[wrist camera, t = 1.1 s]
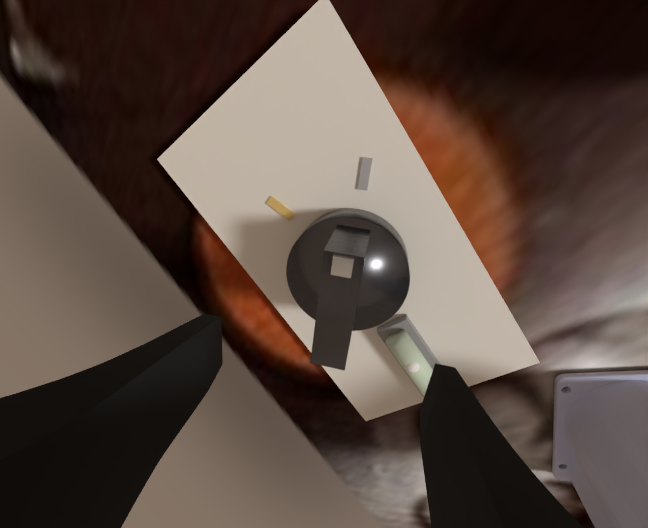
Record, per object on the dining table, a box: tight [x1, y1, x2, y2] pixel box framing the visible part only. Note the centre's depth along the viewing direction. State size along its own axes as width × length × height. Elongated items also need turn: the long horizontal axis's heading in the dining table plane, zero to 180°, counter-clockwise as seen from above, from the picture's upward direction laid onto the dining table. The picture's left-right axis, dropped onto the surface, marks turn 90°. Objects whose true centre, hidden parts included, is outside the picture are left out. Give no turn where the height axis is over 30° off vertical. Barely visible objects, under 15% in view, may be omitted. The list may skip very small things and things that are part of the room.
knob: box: [286, 208, 410, 371], centre depth 16 cm, size 6×6×6 cm
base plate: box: [157, 0, 540, 421], centre depth 18 cm, size 22×12×4 cm, turn 35°
